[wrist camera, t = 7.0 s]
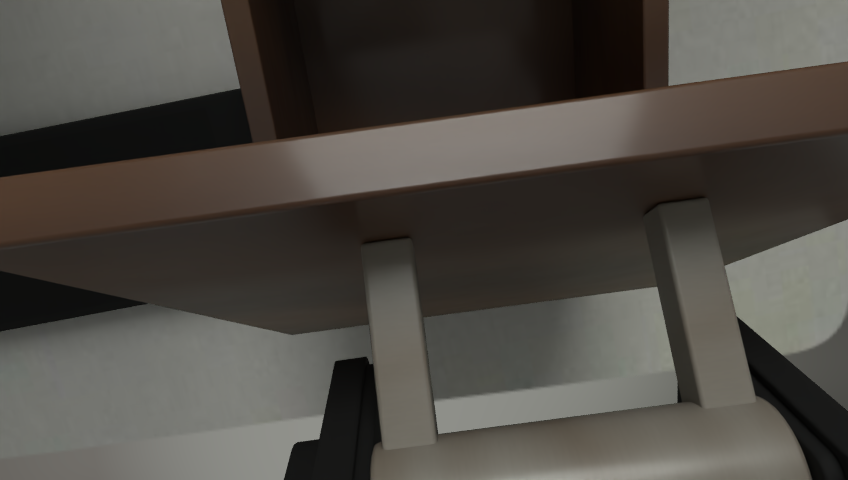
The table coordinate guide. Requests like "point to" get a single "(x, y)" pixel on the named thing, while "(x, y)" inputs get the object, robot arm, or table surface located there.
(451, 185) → the lid
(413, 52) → the wooden box
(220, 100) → the cell phone
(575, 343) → the table surface
